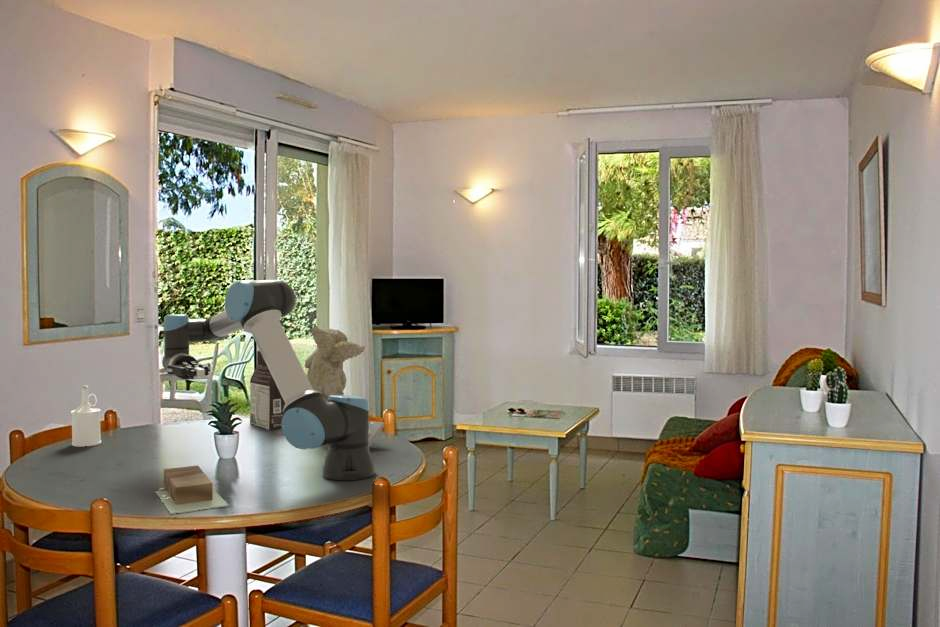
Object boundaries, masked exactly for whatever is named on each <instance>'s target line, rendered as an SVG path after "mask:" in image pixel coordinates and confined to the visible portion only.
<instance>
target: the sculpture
mask: <svg viewBox="0 0 940 627" xmlns="http://www.w3.org/2000/svg"><path fill="white" fill-rule="evenodd" d="M311 336H312V339H313V341H314V343H315V344H316V349H314V350H313V352H312V353H311V354H310V355H309V356H308V357H307V358H306V360H305V362H304V368H305V369H307V373H306V376H307V378H308V380H309V382H310V384H311V386H312V388H313V390H315V391H318V392H321V394H322V396H323V398H324V400H325V402H328V401H327V400H328V397H329V396H330V395H345V393H344V390H345V389H346V385H347V376H346V373H345V371H344V363H345V361H346V360H349V359H353V358H354V357H355V358H356V357H358V356H359V355H361V354H362V353H363V352H364V351H365V349H366V345H360V344H357V343H355V342H353V341H348V337H347V335H346V334H345V333H344V332H342V331H340V329H334V328H327V329H325V330H324V329H321V328H319V327H318V326H317V323H315V322H314V324H313V326H312V327H311Z"/></svg>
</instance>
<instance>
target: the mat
mask: <svg viewBox="0 0 940 627" xmlns="http://www.w3.org/2000/svg"><path fill="white" fill-rule="evenodd" d="M156 493H157V494H156ZM212 493H213V500H209V501H201V502H194V503H187V504H179V505H176V504H175V502H174V501H173V499H172V498H171V496H170V494H169V493H168V491H159V490H157V491H156V490H155V494H156V496H157V495H158V496H159V497H161V498H167V497H170V498H168V499H161V498H160V499H161V500H163V501H161V500H160V499H159V500H160V501H161V503H162V502H163V503H164V504H163V503H162V504H163V506H164V505H165V506H166V507H165V506H164V507H165V508H167V509H168V510H167V509H166V510H167V512H168V511H169V512H168V513H169V514H172V515H177V514H176V513H179V514H184V513H191V512H193V513H194V512H199V511H198V510H200V511H204V510H203V509H207V510H212V509H211V508H214V509H219V508H220V507H221V508H226V507H229V506H230V505H229V504H228V502H226V500H224V499H223V497H222V496H220V494H219V493H218V492H217V491H216V490H215V489H214V488H213V487H212ZM162 495H166V496H165V497H162ZM158 496H157V497H158ZM159 497H158V498H159Z"/></svg>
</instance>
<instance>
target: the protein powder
mask: <svg viewBox="0 0 940 627" xmlns="http://www.w3.org/2000/svg"><path fill="white" fill-rule="evenodd" d="M256 361H257V362H256V363H257V364H256V367H255V369H254V371H253V373H252V375H251V378H250V379H249V388H250V389H249V393H250V394H249V396H250V398H249V399H250V406H249V407H250V409H249V410H250V412H249V413H250V414H249V415H250V416H249V424H250V425H253V424H254V425H253V426H257V427H260V428H263V429H265V430H267V431H273V430H272V429H275V430H280V428H282V426H283V424H282V418H283V416H284V413H283V409H284V406H285V402H284V400H283V398H282V396H281V394H280V391H279V389H278V387H277V385H276V383H275V381H274V379H273V377H272V375H271V373H270V371H269V369H268V366H267V364H266V362H265V360H264V358H263V356H262V354H261V352H260V350H257V351H256Z"/></svg>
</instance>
